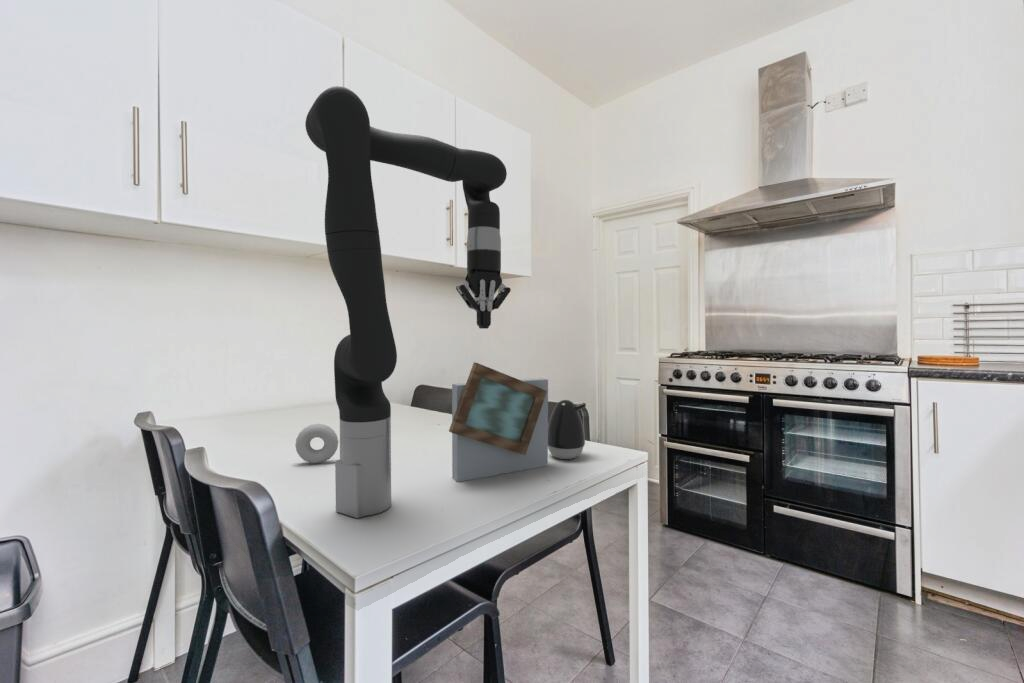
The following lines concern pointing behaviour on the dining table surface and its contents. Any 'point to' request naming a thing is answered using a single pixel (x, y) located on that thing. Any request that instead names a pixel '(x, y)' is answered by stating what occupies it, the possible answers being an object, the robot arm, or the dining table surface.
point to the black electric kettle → (566, 430)
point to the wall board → (492, 460)
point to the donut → (311, 454)
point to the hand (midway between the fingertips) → (483, 328)
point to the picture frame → (498, 409)
